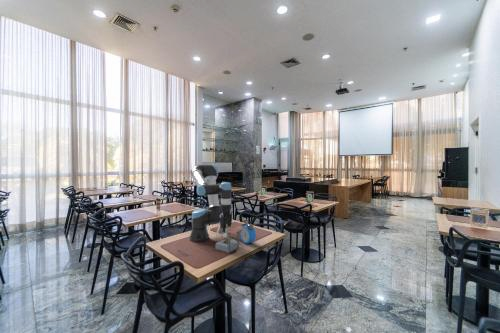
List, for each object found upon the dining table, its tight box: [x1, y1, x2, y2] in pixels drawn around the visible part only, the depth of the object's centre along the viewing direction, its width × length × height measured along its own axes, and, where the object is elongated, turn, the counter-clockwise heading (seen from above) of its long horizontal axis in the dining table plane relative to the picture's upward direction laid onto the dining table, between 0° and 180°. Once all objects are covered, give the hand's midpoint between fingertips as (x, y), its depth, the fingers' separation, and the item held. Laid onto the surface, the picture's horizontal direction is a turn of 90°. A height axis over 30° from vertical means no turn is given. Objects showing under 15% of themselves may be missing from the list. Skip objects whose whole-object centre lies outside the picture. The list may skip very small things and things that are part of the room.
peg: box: [223, 225, 228, 242], centre depth 155 cm, size 3×3×12 cm
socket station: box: [214, 226, 243, 254], centre depth 153 cm, size 16×12×15 cm
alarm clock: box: [239, 221, 257, 245], centre depth 164 cm, size 13×6×15 cm, turn 41°
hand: (226, 236), depth 155 cm, fingers closed on peg, 2 cm apart
